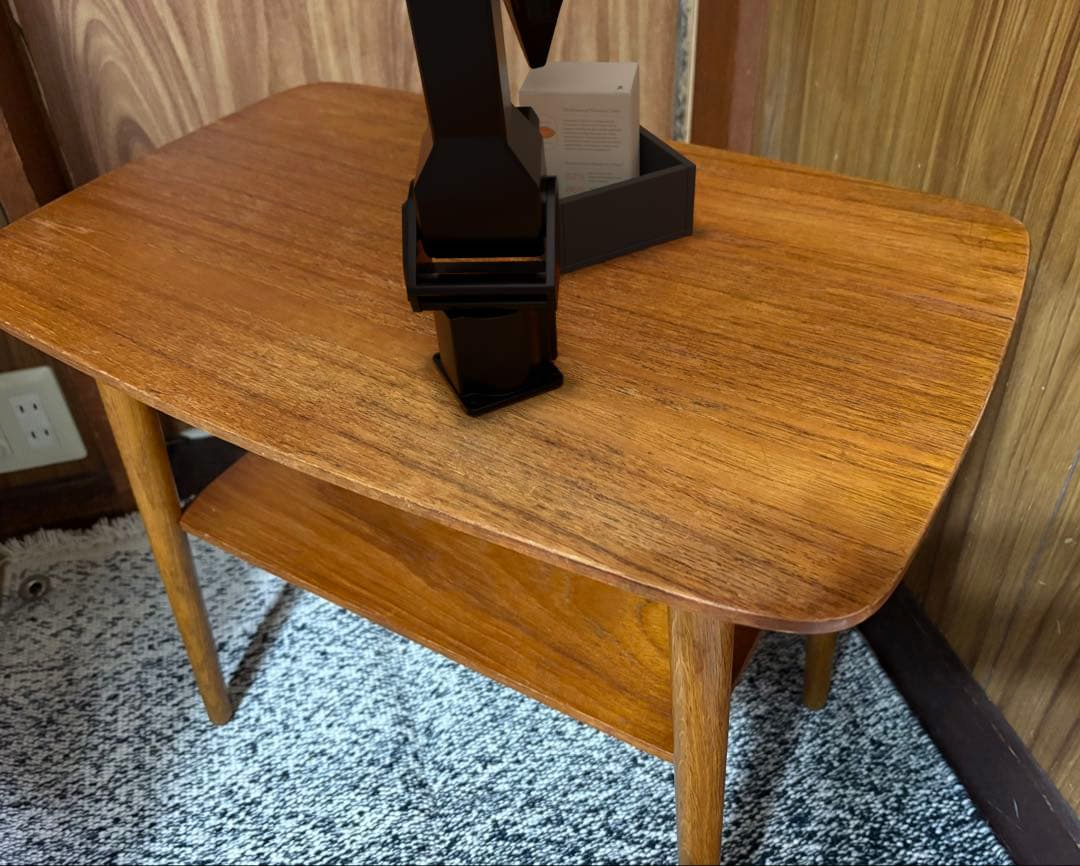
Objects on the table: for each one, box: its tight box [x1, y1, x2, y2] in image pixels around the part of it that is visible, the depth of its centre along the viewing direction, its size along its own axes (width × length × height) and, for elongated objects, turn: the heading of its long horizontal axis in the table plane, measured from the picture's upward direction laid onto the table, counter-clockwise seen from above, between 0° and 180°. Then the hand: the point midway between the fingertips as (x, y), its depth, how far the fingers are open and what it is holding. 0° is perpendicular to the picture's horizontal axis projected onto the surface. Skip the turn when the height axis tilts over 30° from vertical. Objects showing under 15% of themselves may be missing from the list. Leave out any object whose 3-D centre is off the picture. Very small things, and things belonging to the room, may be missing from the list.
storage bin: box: [537, 123, 697, 276], centre depth 75 cm, size 11×13×6 cm
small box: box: [518, 61, 640, 199], centre depth 72 cm, size 8×6×10 cm
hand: (509, 46), depth 69 cm, fingers open, 9 cm apart
